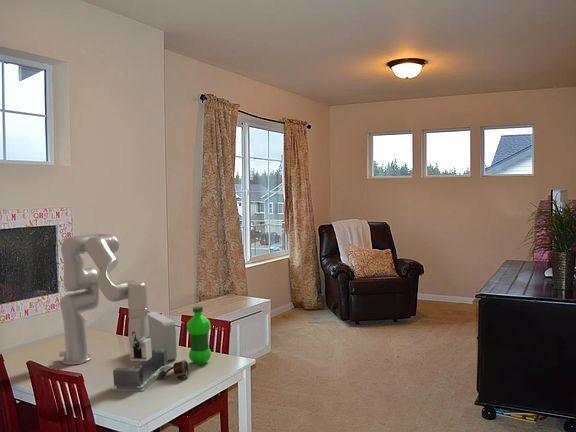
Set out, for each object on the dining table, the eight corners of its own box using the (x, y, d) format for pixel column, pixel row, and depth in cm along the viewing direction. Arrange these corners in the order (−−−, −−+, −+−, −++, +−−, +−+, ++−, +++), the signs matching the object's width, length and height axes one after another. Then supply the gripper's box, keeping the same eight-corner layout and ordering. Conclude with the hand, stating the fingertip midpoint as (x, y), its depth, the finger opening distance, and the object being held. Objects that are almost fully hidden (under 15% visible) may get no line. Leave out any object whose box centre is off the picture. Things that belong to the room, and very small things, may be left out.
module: (130, 360, 218) (129, 341, 218) (136, 356, 223) (135, 338, 223) (146, 361, 217) (145, 341, 216) (152, 357, 222) (150, 338, 221)
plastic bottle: (195, 358, 244) (192, 304, 242) (216, 359, 240) (213, 305, 239) (184, 365, 234) (181, 309, 233) (205, 367, 231) (202, 310, 229)
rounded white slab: (182, 359, 243) (179, 320, 242) (166, 362, 239) (163, 323, 238) (160, 345, 267) (158, 309, 266) (145, 348, 263) (143, 312, 262)
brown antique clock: (180, 371, 212) (194, 358, 221) (154, 365, 217) (168, 352, 226) (182, 386, 214) (195, 373, 223) (156, 380, 219) (170, 367, 228)
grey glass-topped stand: (110, 390, 209) (108, 368, 208) (141, 366, 235) (140, 347, 234) (143, 391, 206) (142, 369, 205) (171, 367, 232) (170, 348, 232)
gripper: (139, 307, 228) (142, 349, 229) (119, 317, 211) (122, 362, 212) (155, 307, 226) (158, 349, 227) (137, 317, 210) (140, 363, 211)
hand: (141, 355), depth 220 cm, fingers closed on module, 5 cm apart
